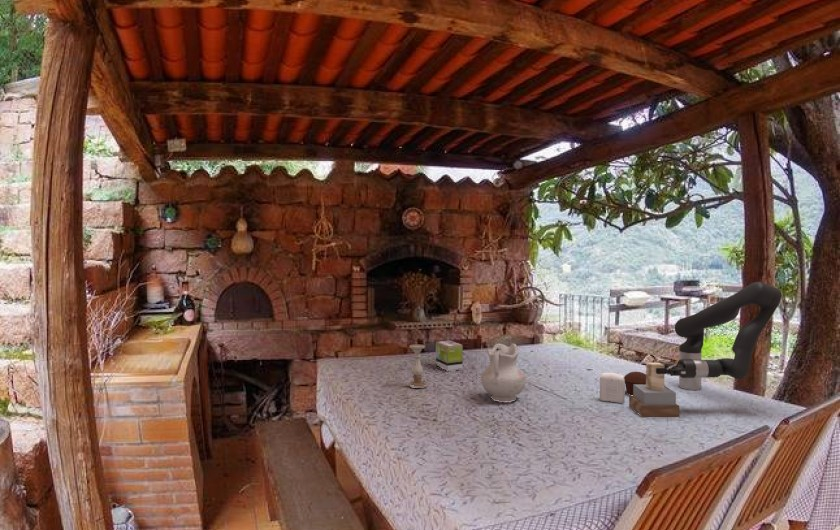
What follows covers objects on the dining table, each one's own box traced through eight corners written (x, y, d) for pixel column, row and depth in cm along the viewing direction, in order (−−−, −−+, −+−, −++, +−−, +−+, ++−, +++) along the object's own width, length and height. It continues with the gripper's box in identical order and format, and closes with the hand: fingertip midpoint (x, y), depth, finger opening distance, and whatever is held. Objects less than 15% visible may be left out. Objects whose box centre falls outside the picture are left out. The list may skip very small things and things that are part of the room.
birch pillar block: (645, 386, 203) (646, 362, 203) (658, 386, 203) (658, 362, 203) (651, 390, 198) (652, 365, 198) (664, 390, 198) (664, 365, 198)
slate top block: (633, 396, 208) (633, 384, 208) (662, 396, 207) (662, 384, 207) (644, 405, 196) (644, 392, 196) (675, 405, 195) (675, 392, 195)
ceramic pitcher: (523, 410, 208) (528, 351, 207) (477, 404, 212) (481, 346, 211) (523, 396, 229) (527, 343, 228) (481, 391, 233) (485, 338, 232)
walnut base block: (629, 407, 209) (629, 395, 209) (663, 407, 208) (663, 395, 208) (643, 418, 195) (643, 405, 195) (679, 418, 194) (679, 405, 194)
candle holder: (419, 390, 237) (418, 348, 237) (404, 387, 242) (404, 346, 242) (430, 386, 244) (429, 345, 243) (415, 383, 249) (415, 343, 249)
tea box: (435, 367, 286) (434, 341, 286) (450, 365, 290) (450, 339, 290) (447, 372, 272) (447, 345, 272) (463, 370, 277) (463, 344, 276)
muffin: (622, 395, 225) (622, 373, 224) (624, 389, 234) (624, 368, 234) (651, 399, 219) (651, 376, 219) (652, 392, 229) (652, 371, 229)
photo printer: (625, 401, 216) (625, 373, 215) (624, 404, 212) (624, 375, 212) (600, 398, 221) (600, 370, 221) (598, 401, 217) (598, 372, 217)
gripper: (684, 355, 208) (644, 355, 209) (701, 363, 194) (659, 363, 195) (684, 373, 208) (644, 373, 209) (701, 382, 194) (659, 382, 195)
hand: (651, 368), depth 202 cm, fingers open, 8 cm apart
